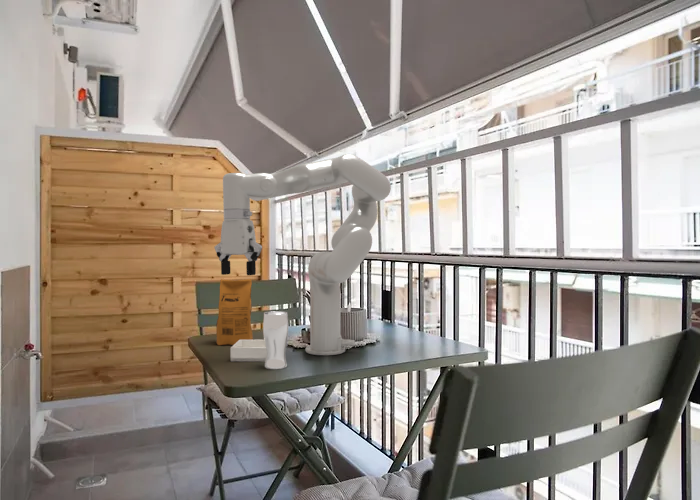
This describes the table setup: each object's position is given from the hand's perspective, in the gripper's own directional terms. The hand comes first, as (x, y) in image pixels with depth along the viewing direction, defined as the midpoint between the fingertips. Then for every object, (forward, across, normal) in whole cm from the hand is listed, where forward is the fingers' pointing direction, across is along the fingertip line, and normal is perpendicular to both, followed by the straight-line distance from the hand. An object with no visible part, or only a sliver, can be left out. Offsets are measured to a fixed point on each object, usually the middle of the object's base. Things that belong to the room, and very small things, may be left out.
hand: (238, 274), depth 144 cm
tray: (+25, -1, -6) cm, 26 cm away
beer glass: (+26, -14, +1) cm, 29 cm away
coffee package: (+26, +19, -18) cm, 37 cm away
